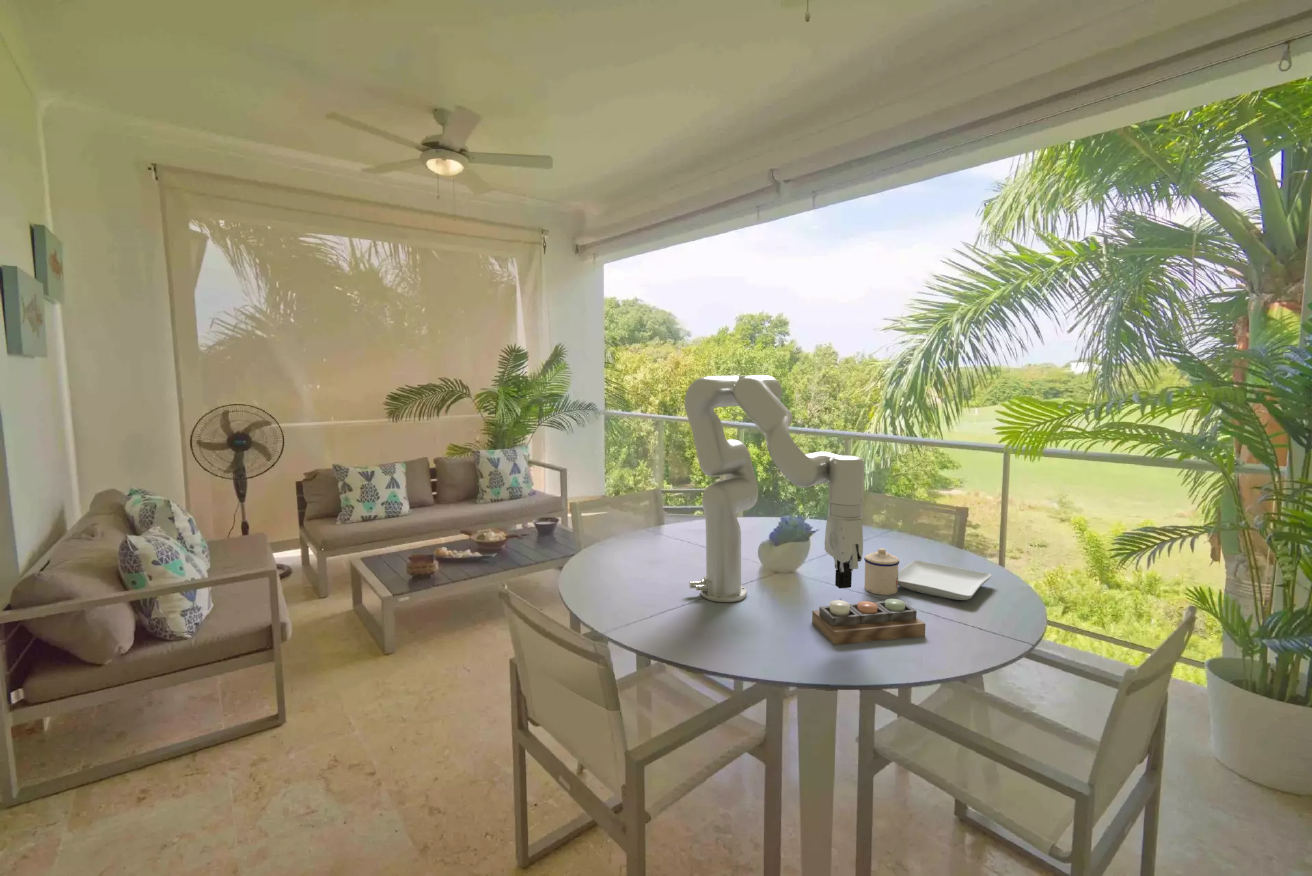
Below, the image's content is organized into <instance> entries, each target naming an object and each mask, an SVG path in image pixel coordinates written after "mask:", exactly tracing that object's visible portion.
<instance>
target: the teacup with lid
mask: <svg viewBox="0 0 1312 876" xmlns="http://www.w3.org/2000/svg"><path fill="white" fill-rule="evenodd" d="M863 559H864V589H865V590H866V591H867V592H869V593H872V594H875V595H879V596H889V595H890V596H891V595H894V594H896V593H898V590H899V587H898V586H899V585H898V571H899V564H900V560H899V558H898V557H897V556H896V555H893V554H890V553H889V552H887V551H886V549H885V548H882V547H879V548H878V549H877V551H874V552H870V553H867V554H866V555H865V556H864V558H863Z"/></svg>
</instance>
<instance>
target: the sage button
mask: <svg viewBox="0 0 1312 876" xmlns="http://www.w3.org/2000/svg"><path fill="white" fill-rule="evenodd" d="M884 601H885V608H886V609H888V610H889V611H891V612H893V611H904V610H905V604H906V602H905V601H903V600H902V599H897V598H888V599H885V600H884Z"/></svg>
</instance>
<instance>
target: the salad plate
mask: <svg viewBox="0 0 1312 876" xmlns="http://www.w3.org/2000/svg"><path fill="white" fill-rule="evenodd" d="M991 577H992V573H988V572H982V571H979V570H978V571H977V570H971V569H967V568H961V567H958V566H957V567H956V566H950V565H945V564H939V563H934V562H928V561H922V560H913V561H911V562H910V563H909V564H907V565H905V566H904V567H902V568H901V569H900V570H898V586H899V587H901V588H904V589H907V590H909V591H913V592H918V593H921V594H926V595H930V596H936V597H940V598H944V599H945V598H946V599H950V600H954V601H965V600H966V601H967V600H970V599H971V598H972V597H973V596H974V595H975V594H976V592H977V591H978V589H980V587H981V586H983V585H984V584H985V583H986V582H988V580H990V579H991Z"/></svg>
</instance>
